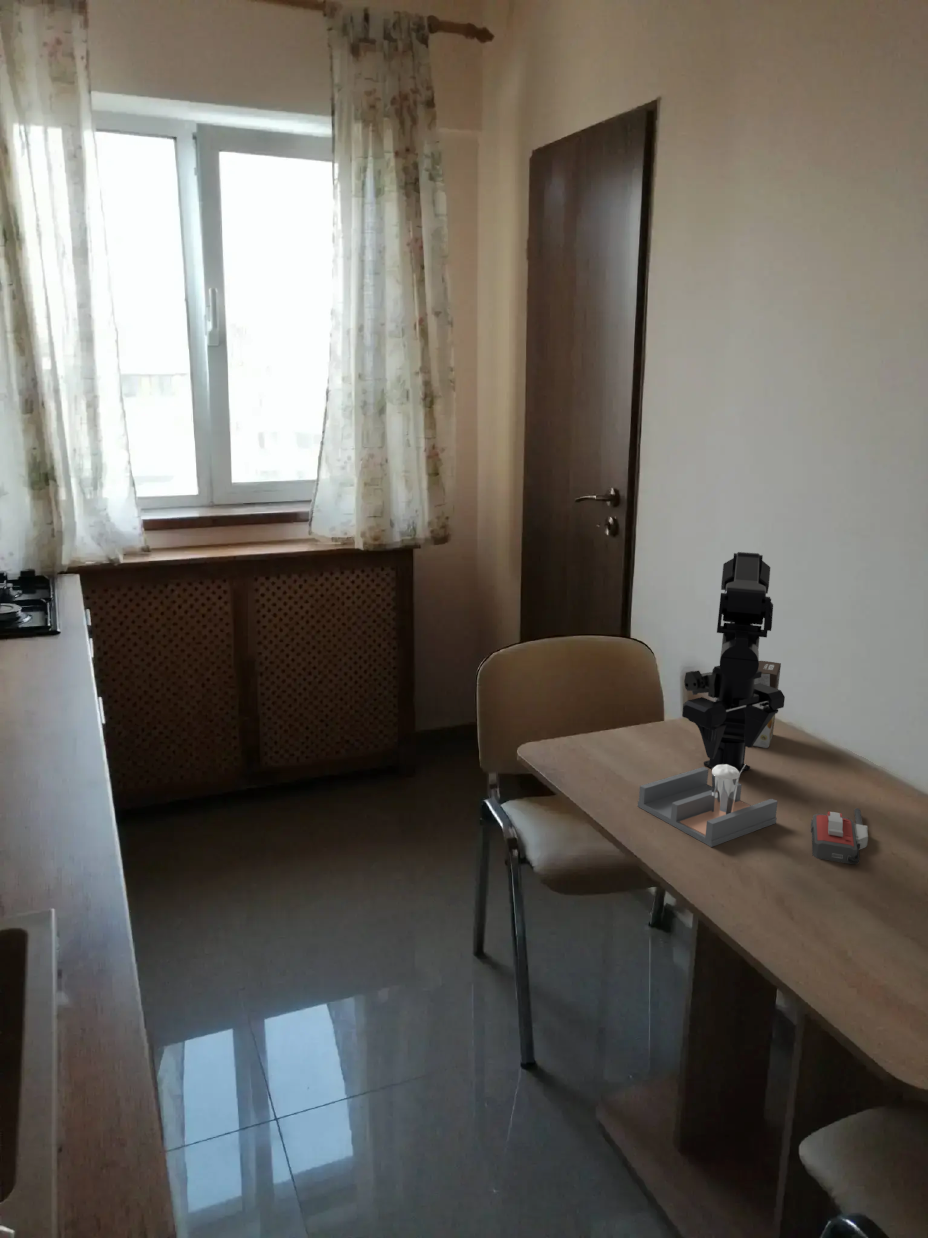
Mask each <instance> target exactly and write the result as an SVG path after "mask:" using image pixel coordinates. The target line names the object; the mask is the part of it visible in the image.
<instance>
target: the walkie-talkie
mask: <svg viewBox="0 0 928 1238" xmlns="http://www.w3.org/2000/svg"><path fill="white" fill-rule="evenodd" d="M853 812H854V819H855V821H854V820H853V819H850V818H848V817H844V816H843V813H842V812H835V811H828V810H827V813H826V814H823V813H815V814H813V815H812V819H811V822H810V833H811V844H812V845H811V850H812V851H811V852H812V856H813V857H814V858H816V859H820V860H826V861H830V862H836V863H837V862H838V863H843V864H847V865H848V864H849V865H858V864H860V860H861V859H860V853H859V851H860V850H862V849H864V848H866V847H867V846H868V842H869V835H868V830H869V827H868V825H864V824H863V819H862V817H863V816H862V812H861V809H860V808H858V807H856V808H854V809H853Z"/></svg>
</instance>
